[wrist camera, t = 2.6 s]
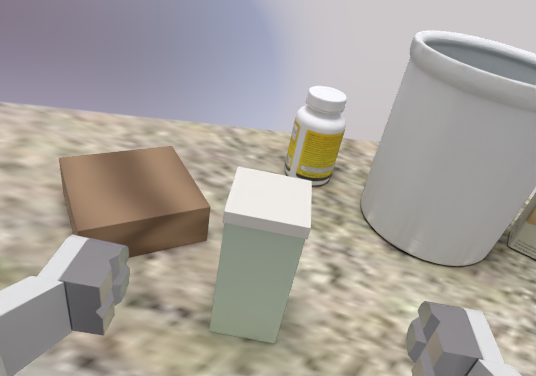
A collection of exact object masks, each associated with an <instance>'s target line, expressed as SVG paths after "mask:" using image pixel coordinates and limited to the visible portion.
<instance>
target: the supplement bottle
mask: <svg viewBox="0 0 536 376" xmlns="http://www.w3.org/2000/svg"><path fill="white" fill-rule="evenodd" d="M346 100H347V97H346V95H345V94H344V93H342V92H340V91H338V90H336V89H333V88H330V87H325V86H314V87H311V88H310V89H309V91H308V95H307V100H306V104H307V105H306V106H303V107H301V108H300V109H299V110H298V112H297V114H296V117H295V122H294V126H293V130H292V135H291V140H290V144H289V148H288V153H287V157H286V162H285V171H286V173H287V175H288V176H289V177H294V178H299V179H304V180H309V181H312V185H321V184H324V183H326V182H327V181H328V180H329V179H330V177H331V174H332V171H333V168H334V164H335V161H336V158H337V155H338V151H339V148H340V144H341V141H342V138H343V135H344V131H345V127H346V120H345V118H344V116H343V115H342V114H341V113H342V112H343V110H344V108H345V104H346Z"/></svg>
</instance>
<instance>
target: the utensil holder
mask: <svg viewBox="0 0 536 376" xmlns="http://www.w3.org/2000/svg"><path fill="white" fill-rule="evenodd" d="M410 56H411V57H410V60H409V62H408V65H407V68H406V71H405V73H404V76H403V79H402V82H401V85H400V88H399V91H398V93H397V96H396V99H395V101H394V104H393V107H392V110H391V113H390V116H389V119H388V122H387V124H386V127H385V130H384V133H383V135H382V138H381V141H380V144H379V147H378V149H377V152H376V155H375V157H374V160H373V163H372V166H371V169H370V172H369V175H368V178H367V182H366V185H365V188H364V191H363V194H362V197H361V207H362V211H363V214H364V216H365V218H366V219H367V221H368V222H369V223H370V225H371V226H372V227H373V228H374V229H375V230H376V231H377V232H378V233H379V234H380V235H381V236H382V237H383V238H384V239H386V240H387V241H388V242H390V243H391V244H393V245H394V246H396V247H398V248H399V249H401V250H403V251H405V252H407V253H409V254H411V255H413V256H416V257H418V258H420V259H423V260H426V261H429V262H433V263H437V264H443V265H451V266H464V265H470V264H474V263H477V262H479V261H481V260H482V259H484V258H485V257H486V256H487V254H488V253H489V252H490V251H491V249H492V248H493V247H494V245H495V244H496V243H497V241H498V240H499V238H500V237H501V235H502V234H503V233H504V231H505V230H506V229H507V227H508V226H509V225H510V223H511V222H512V221H513V219H514V218H515V216H516V215H517V213H518V212H519V210H520V209H521V208H522V206H523V205H524V203H525V202H526V200H527V199H528V197H529V196H530V194H531V193H532V191H533V190H534V188H535V187H536V54H534V53H531V52H528V51H525V50H522V49H519V48H516V47H513V46H510V45H506V44H503V43H499V42H496V41H492V40H488V39H484V38H480V37H476V36H470V35H466V34H460V33H453V32H445V31H421V32H418V33H417V34H416V35H415V36H414V38H413V40H412V43H411V47H410Z"/></svg>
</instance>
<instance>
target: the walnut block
mask: <svg viewBox="0 0 536 376" xmlns="http://www.w3.org/2000/svg"><path fill="white" fill-rule="evenodd" d="M59 162H60V170H61V177H62V185H63V192H64V196H65V200H66V205H67V209H68V213H69V217H70V221H71V225H72V229H73V233H74V235H77V236H81V237H86V238H92V239H97V240H102V241H107V242H111V243H116V244H121V245H125V246H127V247H128V250H129V257H134V256H138V255H143V254H147V253H152V252H156V251H161V250H165V249H170V248H174V247H179V246H183V245H188V244H192V243H197V242H201V241H206V240H207V233H208V224H209V215H210V205H209V204H208V202H207V201H206V199H205V197H204V196H203V194H202V193H201V191H200V190H199V188H198V186H197V185H196V183H195V182H194V180H193V179H192V177H191V175H190V174H189V172H188V171H187V169H186V167H185V166H184V164H183V163H182V161H181V160H180V158H179V156H178V155H177V153H176V152H175V150H174V149H173V147H172V146H168V147H158V148H149V149H139V150H130V151H120V152H111V153H101V154H92V155H82V156H73V157H63V158H59ZM129 257H128V258H129Z"/></svg>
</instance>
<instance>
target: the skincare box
mask: <svg viewBox="0 0 536 376" xmlns="http://www.w3.org/2000/svg"><path fill="white" fill-rule="evenodd" d="M508 246H509V247H511V248H513V249H515V250H517V251H519V252H521V253H524V254H526V255H528V256H530V257H532V258H534V259H536V193H535V195H534V196H533V197H532V199H531V200H530V202H529V203H528V205H527V206H526V208H525V209H524V210H523V212H522V213H521V215H520V216H519V218H518V219H517V220H516V222H515V223H514V225H513V226H512V229H511V232H510V236H509V241H508Z"/></svg>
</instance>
